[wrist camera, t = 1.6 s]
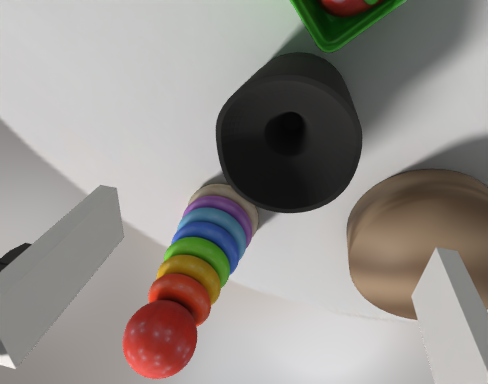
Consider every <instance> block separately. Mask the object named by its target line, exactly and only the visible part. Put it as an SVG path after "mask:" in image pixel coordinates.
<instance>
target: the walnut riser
mask: <svg viewBox="0 0 488 384" xmlns="http://www.w3.org/2000/svg"><path fill="white" fill-rule="evenodd" d="M347 246H348V260H349V270H350V275H351V278H352V281H353V283H354V285H355V287H356V288H357V290H358V291H359V292H360V294H361V295H362V296H363V297H364V298H365V299H367V300H368V301H369V302H370V303H372V304H373V305H375V306H376V307H378V308H380V309H382V310H384V311H386V312H388V313H391V314H394V315H396V316H400V317H404V318H409V319H414V320H418V319H417V315H416V312H415V308H414V304H413V300H412V297H411V296H412V294H413V292H414V290H415V288H416V286H417V284H418V282H419V280H420V278H421V276H422V274H423V272H424V270H425V268H426V266H427V264H428V262H429V260H430V258H431V256H432V254H433V252H434V250H435V248H436V247H439V248H444V249H450V250H455V251H458V253H459V255H460V257H461V259H462V261H463V263H464V265H465V267H466V269H467V271H468V273H469V275H470V277H471V279H472V282H473V284H474V286H475V288H476V290H477V292H478V294H479V296H480V298H481V300H482V302H483V304H484V306H485V308H486V310H487V309H488V187H487V186H486V185H484V184H483V183H481V182H480V181H478V180H476V179H474V178H472V177H470V176H468V175H465V174H462V173H459V172H455V171H450V170H442V169H423V170H414V171H410V172H405V173H402V174H399V175H396V176H393V177H390V178H388V179H386V180H384V181H382V182H380V183H379V184H377V185H375V186H374V187H372V188H371V189H370V190H369V191H367V192H366V193H365V194H364V195H363V196H362V197H361V198H360V199H359V201H358V202H357V203H356V204H355V206H354V208H353V209H352V211H351V213H350V216H349V219H348V223H347Z"/></svg>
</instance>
